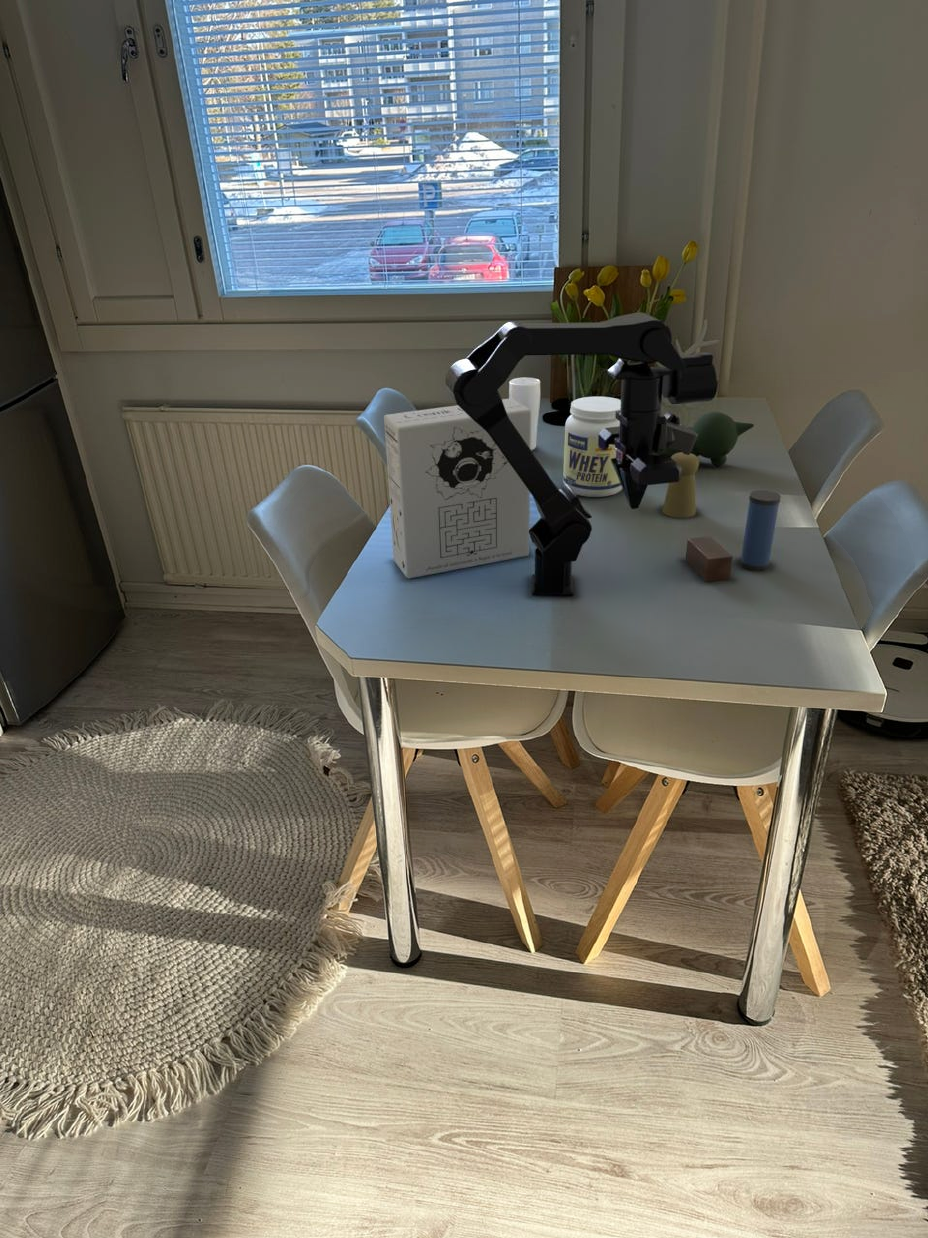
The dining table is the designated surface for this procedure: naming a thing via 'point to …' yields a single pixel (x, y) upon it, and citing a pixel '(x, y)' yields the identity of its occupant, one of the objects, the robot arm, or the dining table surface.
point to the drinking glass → (527, 400)
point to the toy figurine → (714, 437)
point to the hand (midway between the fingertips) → (634, 507)
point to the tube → (759, 529)
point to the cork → (682, 488)
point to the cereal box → (454, 491)
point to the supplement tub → (590, 447)
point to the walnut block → (708, 559)
